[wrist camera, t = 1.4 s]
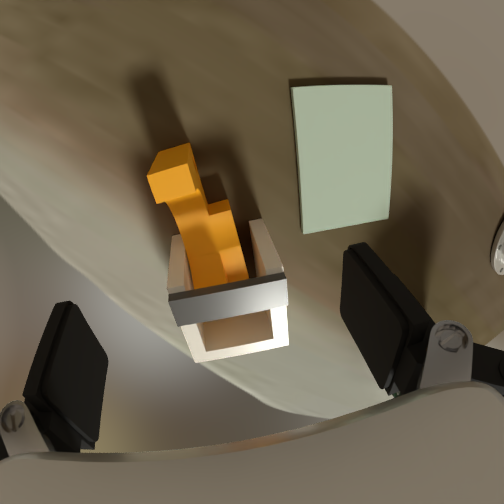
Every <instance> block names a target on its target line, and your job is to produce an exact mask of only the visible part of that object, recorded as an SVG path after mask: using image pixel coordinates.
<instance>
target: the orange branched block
mask: <svg viewBox="0 0 504 504" xmlns="http://www.w3.org/2000/svg"><path fill="white" fill-rule="evenodd" d="M147 178H148V181H149V184H150V187H151V190H152V193H153V195H154V198H155V201H156V204H159V203H162V202H166V204H167V205H168V207H169V208H170V210H171V212H172V214H173V216H174V218H175V221H176V223H177V226H178V228H179V231H180V234H181V237H182V240H183V243H184V246H185V250H186V253H187V257H188V261H189V265H190V270H191V274H192V280H193V286H194V289H199V288H204V287H210V286H215V285H220V284H226V283H231V282H236V281H241V280H246V279H249V275H248V272H247V268H246V264H245V260H244V257H243V253H242V249H241V245H240V242H239V238H238V234H237V231H236V227H235V223H234V219H233V216H232V212H231V208H230V204H229V201H228V199H226V200H222V201H219V202H215V203H211V204H208V203H207V200H206V197H205V193H204V190H203V187H202V183H201V180H200V176H199V173H198V169H197V166H196V163H195V159H194V156H193V152H192V149H191V145H190V142H189V143H186V144H183V145H179V146H176V147H173V148H169V149H166V150H163V151H160V152H158V154H157V156H156V158H155V160H154V162H153V164H152V166H151V168H150V170H149V172H148V174H147Z"/></svg>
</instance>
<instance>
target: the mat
mask: <svg viewBox="0 0 504 504" xmlns="http://www.w3.org/2000/svg"><path fill="white" fill-rule="evenodd" d="M290 88H291V98H292V108H293V118H294V129H295V141H296V153H297V167H298V181H299V196H300V213H301V231H302V233H303V234H307V233H313V232H318V231H323V230H329V229H334V228H340V227H345V226H350V225H356V224H361V223H367V222H372V221H378V220H383V219H388V217H389V205H390V191H391V173H392V140H393V113H392V86H391V85H318V86H301V87H290Z"/></svg>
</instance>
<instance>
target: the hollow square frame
mask: <svg viewBox="0 0 504 504" xmlns="http://www.w3.org/2000/svg"><path fill="white" fill-rule="evenodd" d="M249 227H250V234H251V241H252V248H253V256H254V263H255V270H256V278H251V279H246V280H241V281H236V282H231V283H226V284H220V285H215V286H210V287H204V288H199V289H194V286H193V280H192V274H191V270H190V265H189V261H188V257H187V253H186V250H185V246H184V243H183V240H182V237H181V234H178V235H173V236H172V241H171V250H170V260H169V270H168V281H167V290H168V293H169V299H168V302H169V305H170V307H171V310H172V313H173V315H174V318H175V321H176V323H177V326H181V328H182V331H183V333H184V336H185V339H186V341H187V344H188V346H189V349H190V351H191V354H192V356H193V359H194V361H195V363H198V362H204V361H210V360H216V359H222V358H227V357H233V356H238V355H243V354H248V353H253V352H258V351H263V350H268V349H273V348H277V347H282V346H286V345H289V341H288V326H287V312H286V306H288V294H287V280H286V277H285V274H284V271H283V265H282V262H281V260H280V258H279V256H278V253H277V251H276V249H275V247H274V244H273V242H272V240H271V237H270V235H269V233H268V231H267V228H266V226H265V224H264V222H263V219H256V220H251V221H249Z"/></svg>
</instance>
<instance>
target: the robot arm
mask: <svg viewBox="0 0 504 504" xmlns="http://www.w3.org/2000/svg"><path fill="white" fill-rule="evenodd" d="M491 265H492V268H493V269H494V270H495V271H496V272H497V273H498V274H500V275H504V221H503V222H502V224H501V226H500V228H499V230H498V232H497V235H496V237H495V240H494V243H493V246H492V251H491ZM340 313H341V317H342V319H343V321H344V323H345V324H346V326H347V328H348V330H349V332H350V333H351V335H352V337H353V339H354V341H355V343H356V344H357V346H358V348H359V350H360V352H361V354H362V356H363V357H364V359H365V361H366V363H367V365H368V367H369V369H370V371H371V372H372V374H373V376H374V378H375V380H376V382H377V384H378V386H379V387H380V388H381V389H384V388H385V390H386V392H387V394H388V396H389V395H392V394H394V393H397V392H399V391H400V393H401V395H402V396H399V397H396V398H393V399H391V400H388V401H385V402H382V403H380V404H377V405H374V406H371V407H368V408H365V409H362V410H359V411H356V412H353V413H350V414H346V415H343V416H340V417H337V418H334V419H330V420H327V421H324V422H321V423H317V424H313V425H310V426H306V427H302V428H298V429H294V430H290V431H286V432H281V433H277V434H272V435H268V436H263V437H258V438H253V439H248V440H243V441H237V442H231V443H226V444H219V445H211V446H204V447H196V448H187V449H179V450H178V449H177V450H166V451H152V452H133V453H80V449H92V450H94V449H95V442H96V441H97V440H98V438H99V429H100V418H101V410H102V402H103V394H104V387H105V380H106V374H107V368H108V357H107V355H106V353H105V351H104V349H103V348H102V346H101V345H100V343H99V341H98V340H97V338H96V337H95V335H94V333H93V332H92V330H91V328H90V326H89V325H88V323H87V321H86V320H85V318H84V316H83V314H82V313H81V311H80V309H79V307H78V306H77V305H76V304H73V303H72V302H71V301H66V302H60V303H57V304H55V306H54V308H53V311H52V313H51V315H50V318H49V320H48V322H47V325H46V327H45V330H44V333H43V335H42V338H41V341H40V343H39V346H38V349H37V351H36V354H35V357H34V360H33V363H32V366H31V369H30V372H29V375H28V379H27V381H26V385H25V388H24V391H23V396H24V397H25V401H24V402H22V401H18V400H16V401H12V402H10V403H8V404H7V405H6V406H5V407H4V408H3V409H2V411H1V412H0V504H504V351H502V350H498V349H494V348H491V347H487V346H484V345H480V344H477V343H473V338H472V335H471V333H470V331H469V330H468V329H467V328H466V327H465V326H464V325H462V324H460V323H458V322H455V321H450V320H445V321H441V322H439V323H437V324H435V323H434V321H433V320H432V319H431V317H430V316H429V315H428V314H427V312H426V311H425V310H424V309H423V307H422V306H421V305H420V304H419V302H418V301H417V300H416V299H415V297H414V296H413V295H412V294H411V293H410V291H409V290H408V289H407V288H406V287H405V285H404V284H403V283H402V282H401V281H400V279H399V278H398V277H397V276H396V275H394V274H393V273H392V272H391V271H390V270H389V268H388V267H387V266H386V265H385V264H384V263H383V261H382V260H381V259H380V258H379V257H378V256H377V255H376V253H375V252H374V251H373V250H372V249H371V248H370V247H369V246H368V244H367V243H365V242H362V243H358V244H353V245H349V246H348V250H345V251H344V254H343V272H342V288H341V302H340Z"/></svg>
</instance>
